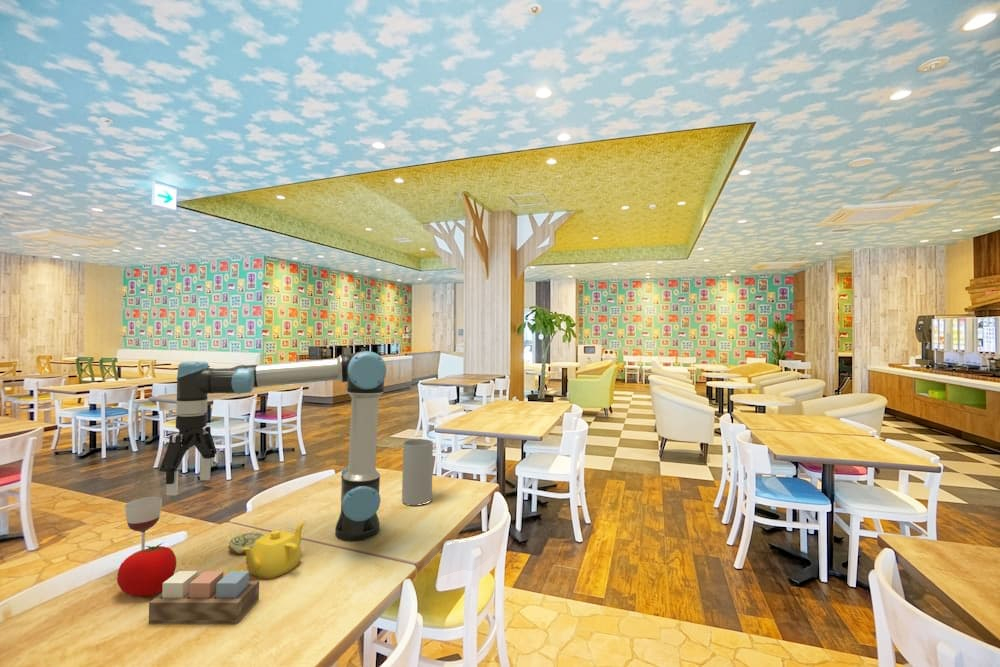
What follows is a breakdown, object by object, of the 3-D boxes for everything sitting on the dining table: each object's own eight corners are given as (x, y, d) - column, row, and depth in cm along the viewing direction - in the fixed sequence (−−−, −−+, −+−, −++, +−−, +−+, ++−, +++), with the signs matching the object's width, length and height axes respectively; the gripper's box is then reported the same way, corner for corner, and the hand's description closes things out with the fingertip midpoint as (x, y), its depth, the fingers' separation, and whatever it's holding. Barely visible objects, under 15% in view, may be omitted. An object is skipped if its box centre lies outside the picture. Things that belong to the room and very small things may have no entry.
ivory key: (197, 590, 116) (198, 571, 116) (182, 603, 110) (182, 583, 110) (178, 590, 116) (179, 570, 116) (162, 603, 110) (162, 583, 110)
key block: (258, 599, 118) (259, 580, 118) (237, 623, 108) (237, 602, 108) (177, 599, 118) (178, 580, 118) (148, 623, 108) (149, 602, 108)
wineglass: (167, 565, 135) (168, 498, 135) (135, 579, 127) (137, 508, 127) (148, 560, 138) (150, 495, 138) (116, 574, 129) (118, 504, 130)
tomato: (131, 611, 112) (132, 564, 113) (109, 593, 120) (110, 550, 120) (186, 588, 123) (187, 546, 123) (163, 573, 130) (164, 534, 130)
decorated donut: (238, 560, 139) (238, 547, 139) (222, 550, 145) (222, 538, 145) (271, 547, 148) (271, 536, 148) (255, 539, 154) (255, 527, 154)
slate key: (248, 590, 116) (249, 571, 116) (235, 603, 110) (236, 583, 110) (229, 590, 116) (230, 571, 116) (216, 603, 110) (216, 583, 110)
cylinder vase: (429, 506, 185) (430, 446, 186) (398, 506, 185) (400, 445, 186) (434, 496, 198) (434, 439, 198) (405, 495, 198) (406, 438, 198)
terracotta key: (223, 590, 116) (223, 571, 116) (209, 603, 110) (209, 583, 110) (204, 590, 116) (204, 571, 116) (189, 603, 110) (189, 583, 110)
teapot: (262, 594, 121) (263, 553, 121) (225, 580, 127) (225, 542, 127) (325, 558, 141) (326, 523, 141) (290, 548, 147) (291, 515, 147)
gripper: (207, 407, 145) (205, 474, 144) (144, 421, 120) (142, 501, 119) (230, 408, 144) (228, 474, 144) (172, 422, 120) (169, 502, 119)
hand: (189, 487), depth 132 cm, fingers open, 13 cm apart
